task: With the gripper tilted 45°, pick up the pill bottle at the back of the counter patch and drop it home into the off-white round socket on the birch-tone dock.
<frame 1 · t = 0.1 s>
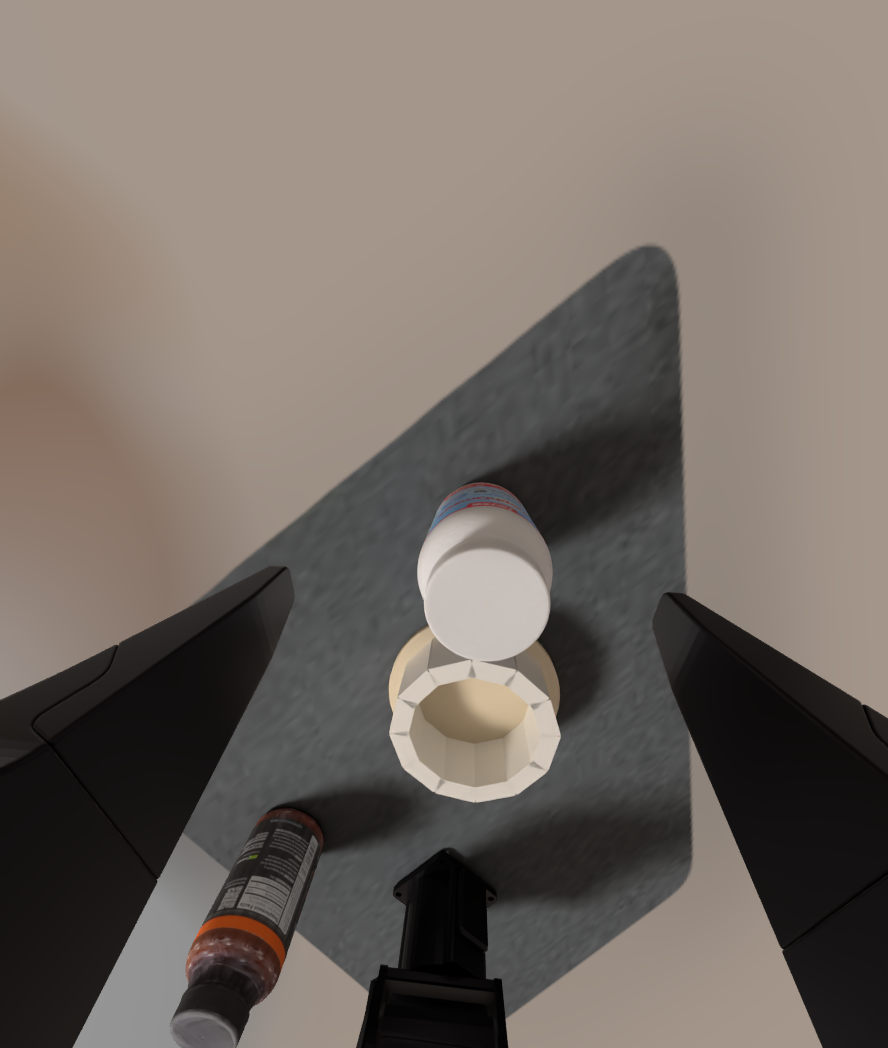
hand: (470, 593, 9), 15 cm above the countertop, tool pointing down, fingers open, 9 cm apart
pill bottle: (479, 527, 25), on the countertop
supplement bottle: (292, 829, 33), on the countertop
socket dock: (473, 688, 28), on the countertop
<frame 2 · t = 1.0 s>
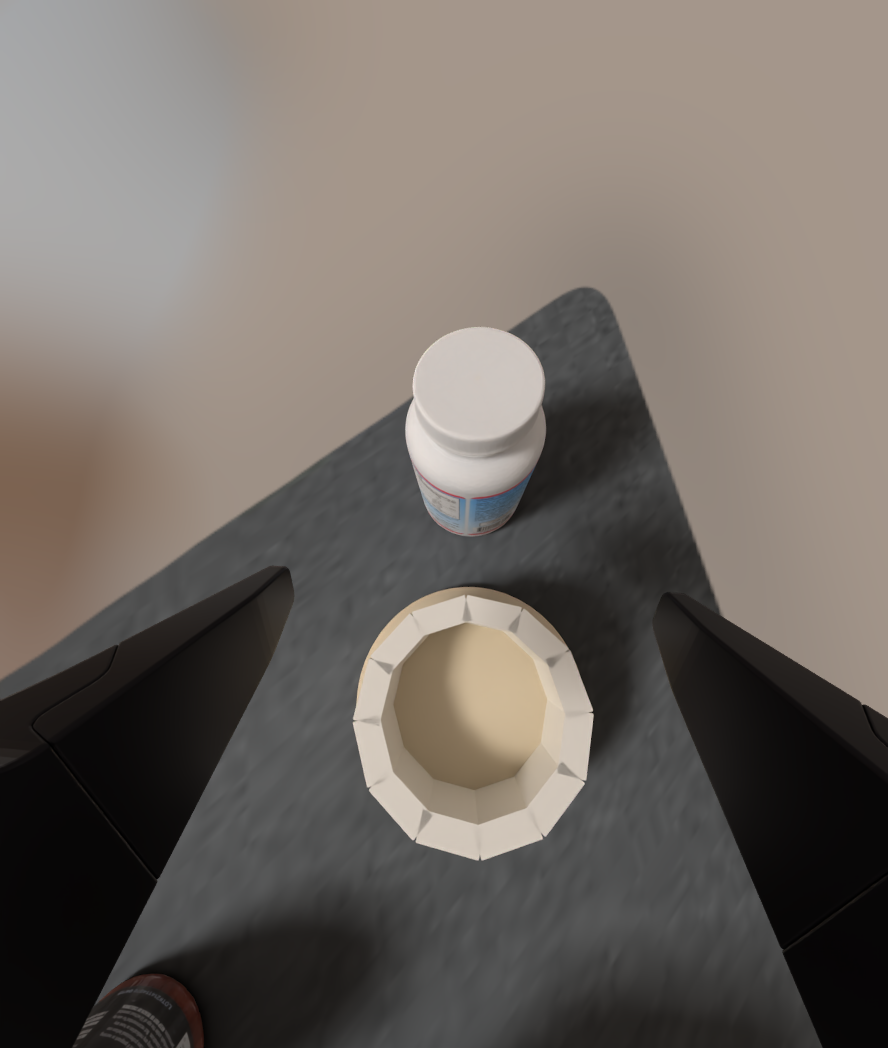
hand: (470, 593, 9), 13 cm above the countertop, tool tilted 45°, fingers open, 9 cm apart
pill bottle: (469, 492, 24), on the countertop
supplement bottle: (150, 1041, 18), on the countertop
socket dock: (469, 699, 21), on the countertop
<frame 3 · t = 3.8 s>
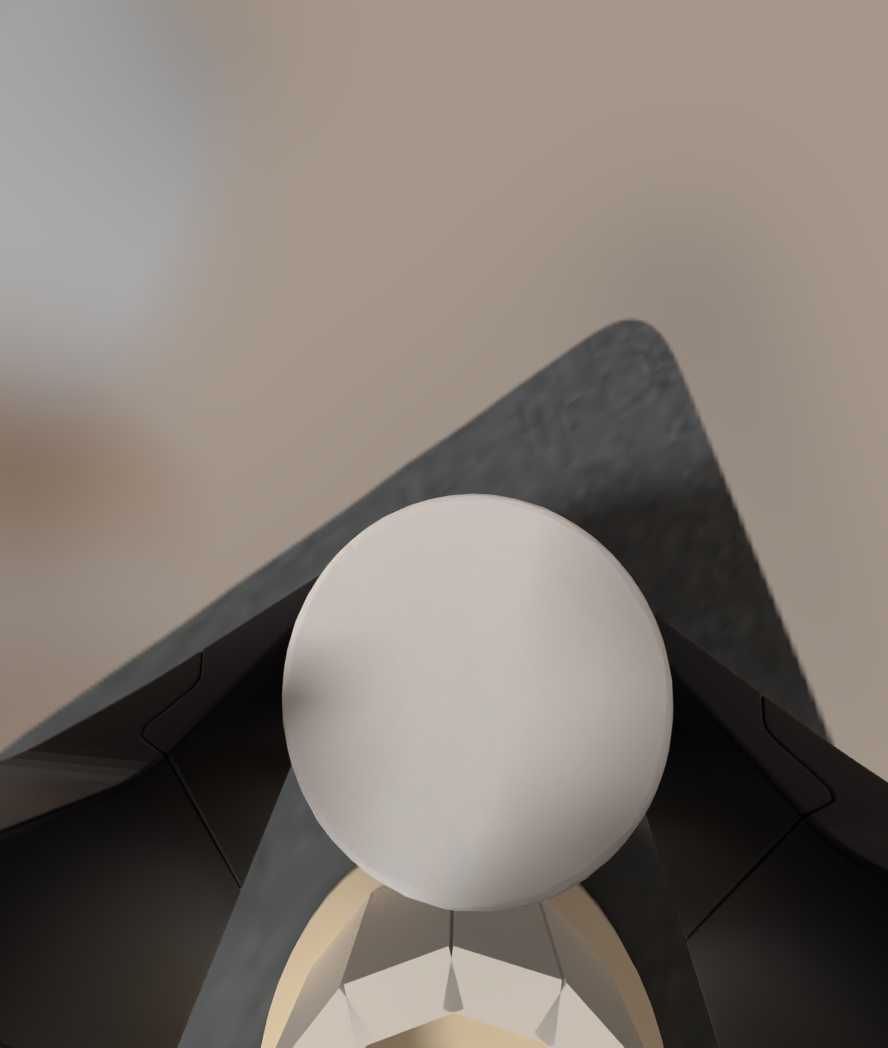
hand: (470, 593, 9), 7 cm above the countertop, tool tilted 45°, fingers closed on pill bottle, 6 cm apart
pill bottle: (462, 645, 15), on the countertop, touching gripper
when the fingers open (8 cm above the countertop, at t = 8.7 s): pill bottle stays where it is, resting on socket dock.
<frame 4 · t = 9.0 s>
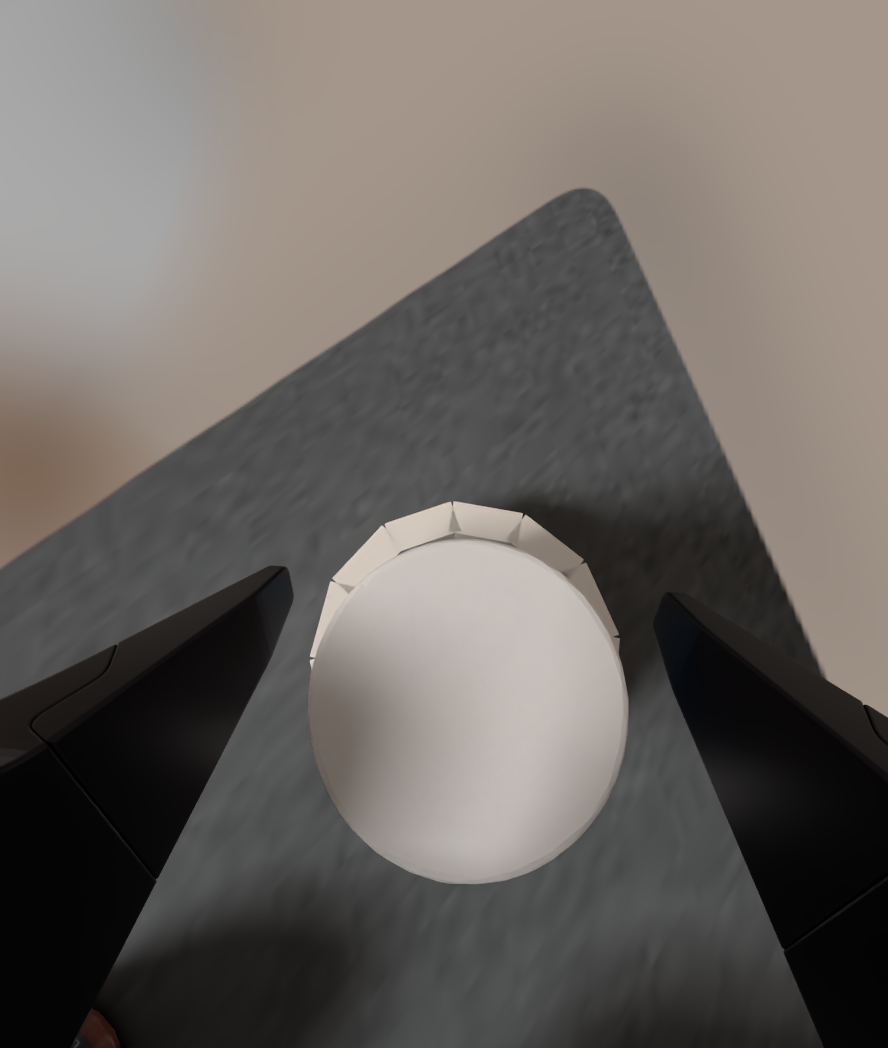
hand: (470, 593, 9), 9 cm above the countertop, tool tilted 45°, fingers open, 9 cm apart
pill bottle: (463, 649, 16), point 1 cm above the countertop, touching socket dock
socket dock: (462, 644, 17), on the countertop
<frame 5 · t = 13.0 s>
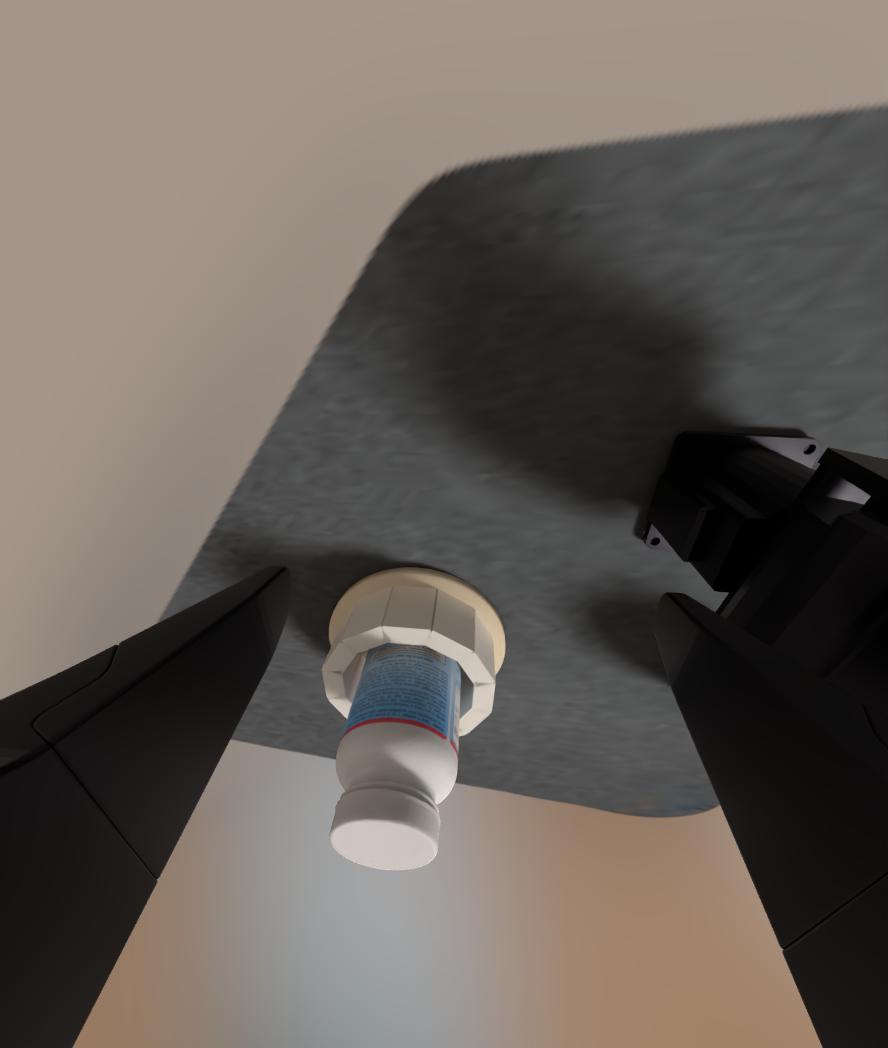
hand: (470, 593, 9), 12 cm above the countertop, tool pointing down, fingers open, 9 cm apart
pill bottle: (418, 642, 26), point 1 cm above the countertop, touching socket dock
socket dock: (417, 637, 27), on the countertop
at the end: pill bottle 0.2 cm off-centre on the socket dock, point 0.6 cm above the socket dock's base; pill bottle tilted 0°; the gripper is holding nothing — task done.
